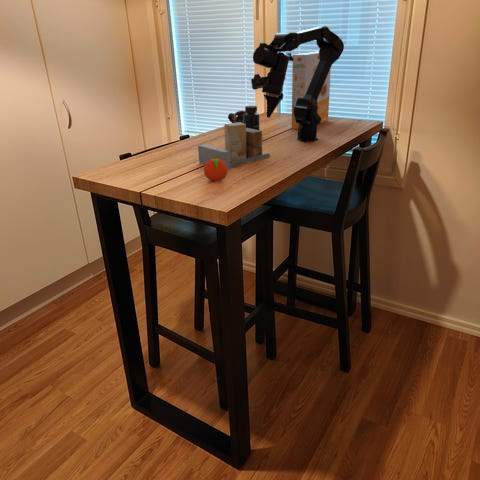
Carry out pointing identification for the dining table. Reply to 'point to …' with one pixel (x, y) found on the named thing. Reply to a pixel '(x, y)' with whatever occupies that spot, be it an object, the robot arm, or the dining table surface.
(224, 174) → the red rounded fruit
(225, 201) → the dining table surface
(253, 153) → the walnut block
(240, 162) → the backstop rail
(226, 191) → the dining table surface
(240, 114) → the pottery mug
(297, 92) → the cereal box
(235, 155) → the skincare box
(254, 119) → the supplement bottle
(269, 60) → the robot arm
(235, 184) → the dining table surface
